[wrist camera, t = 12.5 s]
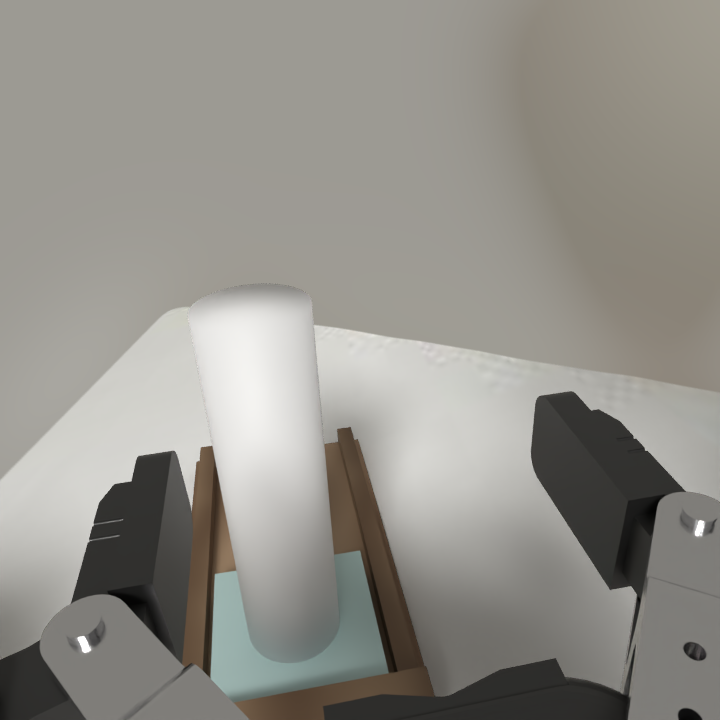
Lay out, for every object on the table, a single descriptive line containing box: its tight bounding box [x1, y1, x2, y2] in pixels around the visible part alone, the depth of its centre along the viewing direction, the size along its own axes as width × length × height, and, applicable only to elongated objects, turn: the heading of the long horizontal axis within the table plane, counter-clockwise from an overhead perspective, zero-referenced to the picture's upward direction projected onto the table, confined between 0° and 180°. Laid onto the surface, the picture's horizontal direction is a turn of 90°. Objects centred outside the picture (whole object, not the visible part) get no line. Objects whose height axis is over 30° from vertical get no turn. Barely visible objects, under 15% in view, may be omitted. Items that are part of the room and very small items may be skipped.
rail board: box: [182, 427, 435, 720], centre depth 35 cm, size 12×24×4 cm, turn 10°
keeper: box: [187, 284, 389, 703], centre depth 27 cm, size 8×8×18 cm
